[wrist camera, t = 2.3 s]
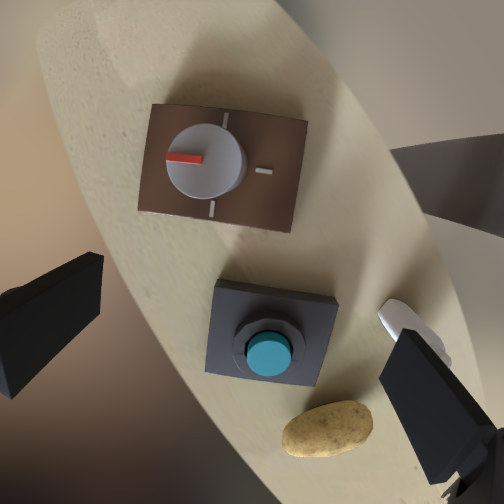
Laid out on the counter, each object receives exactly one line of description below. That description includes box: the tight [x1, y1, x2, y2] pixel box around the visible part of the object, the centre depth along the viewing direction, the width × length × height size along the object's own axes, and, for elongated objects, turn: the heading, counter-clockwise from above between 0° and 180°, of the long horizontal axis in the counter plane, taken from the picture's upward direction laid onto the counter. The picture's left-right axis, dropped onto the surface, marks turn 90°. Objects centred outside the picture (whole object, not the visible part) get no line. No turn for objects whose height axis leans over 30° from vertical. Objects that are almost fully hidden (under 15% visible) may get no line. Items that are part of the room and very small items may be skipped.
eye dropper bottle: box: [378, 299, 452, 369], centre depth 26 cm, size 4×6×12 cm
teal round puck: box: [247, 331, 291, 376], centre depth 28 cm, size 4×4×2 cm
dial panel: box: [138, 104, 308, 233], centre depth 27 cm, size 14×10×3 cm
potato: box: [282, 400, 373, 457], centre depth 32 cm, size 7×11×6 cm, turn 107°
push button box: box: [205, 279, 339, 387], centre depth 31 cm, size 12×10×4 cm
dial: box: [165, 123, 248, 199], centre depth 23 cm, size 5×5×7 cm
